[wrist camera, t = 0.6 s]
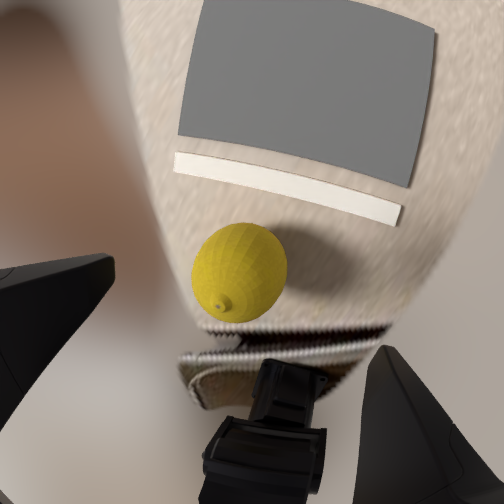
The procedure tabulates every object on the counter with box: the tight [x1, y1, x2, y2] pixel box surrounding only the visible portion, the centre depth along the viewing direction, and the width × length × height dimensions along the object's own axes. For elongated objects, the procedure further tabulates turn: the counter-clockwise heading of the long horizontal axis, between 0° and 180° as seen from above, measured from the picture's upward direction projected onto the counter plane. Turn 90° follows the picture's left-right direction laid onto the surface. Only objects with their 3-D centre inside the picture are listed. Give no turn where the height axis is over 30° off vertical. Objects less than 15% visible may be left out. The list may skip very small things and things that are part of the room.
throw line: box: [174, 151, 401, 227], centre depth 18 cm, size 2×16×1 cm, turn 81°
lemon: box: [191, 223, 287, 323], centre depth 17 cm, size 6×6×8 cm
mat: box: [178, 0, 435, 188], centre depth 15 cm, size 12×16×1 cm
